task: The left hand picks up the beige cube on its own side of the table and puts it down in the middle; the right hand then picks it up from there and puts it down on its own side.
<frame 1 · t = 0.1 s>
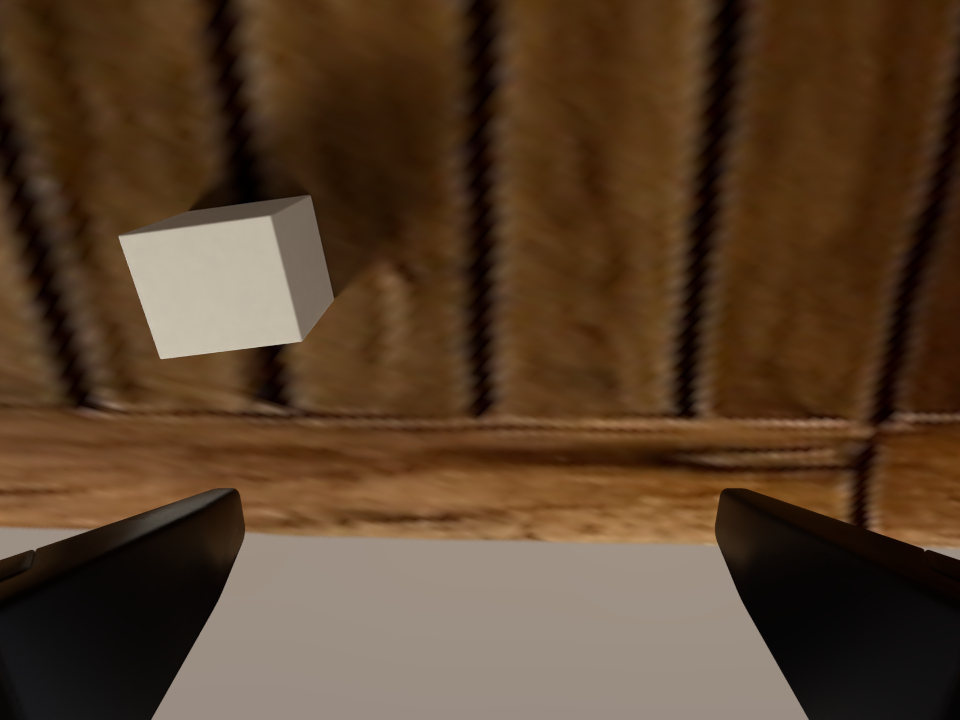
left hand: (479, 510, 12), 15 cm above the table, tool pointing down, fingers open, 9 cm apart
beige cube: (262, 256, 25), on the table
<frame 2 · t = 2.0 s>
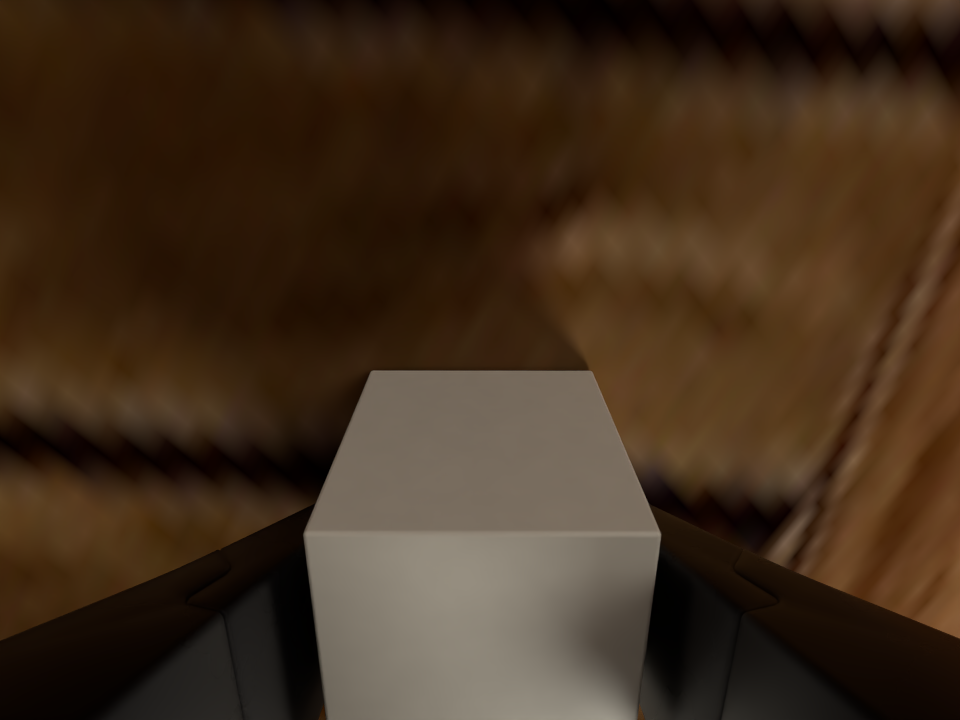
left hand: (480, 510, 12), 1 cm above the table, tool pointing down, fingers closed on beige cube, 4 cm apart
beige cube: (481, 480, 13), on the table, touching left hand
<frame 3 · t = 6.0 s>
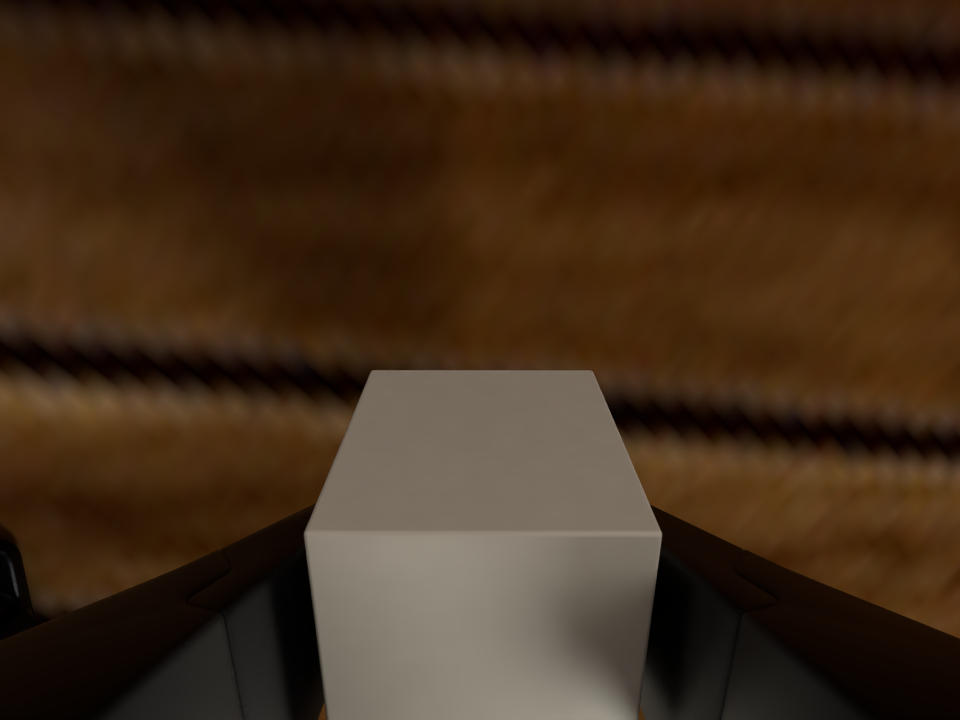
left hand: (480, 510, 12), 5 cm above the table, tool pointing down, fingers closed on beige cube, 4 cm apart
beige cube: (481, 480, 13), point 4 cm above the table, touching left hand
when the left hand's fingers open (2 cm above the table, at t = 9.8 s): beige cube stays where it is, on the table.
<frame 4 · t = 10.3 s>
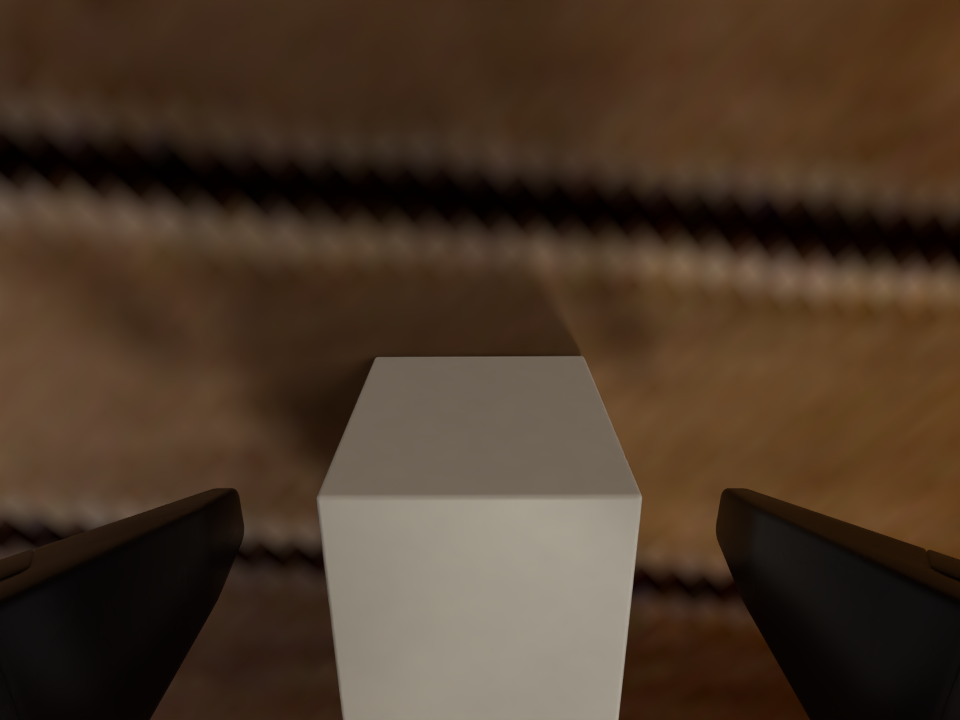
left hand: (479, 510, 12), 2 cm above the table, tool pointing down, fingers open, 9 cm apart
beige cube: (480, 461, 13), on the table
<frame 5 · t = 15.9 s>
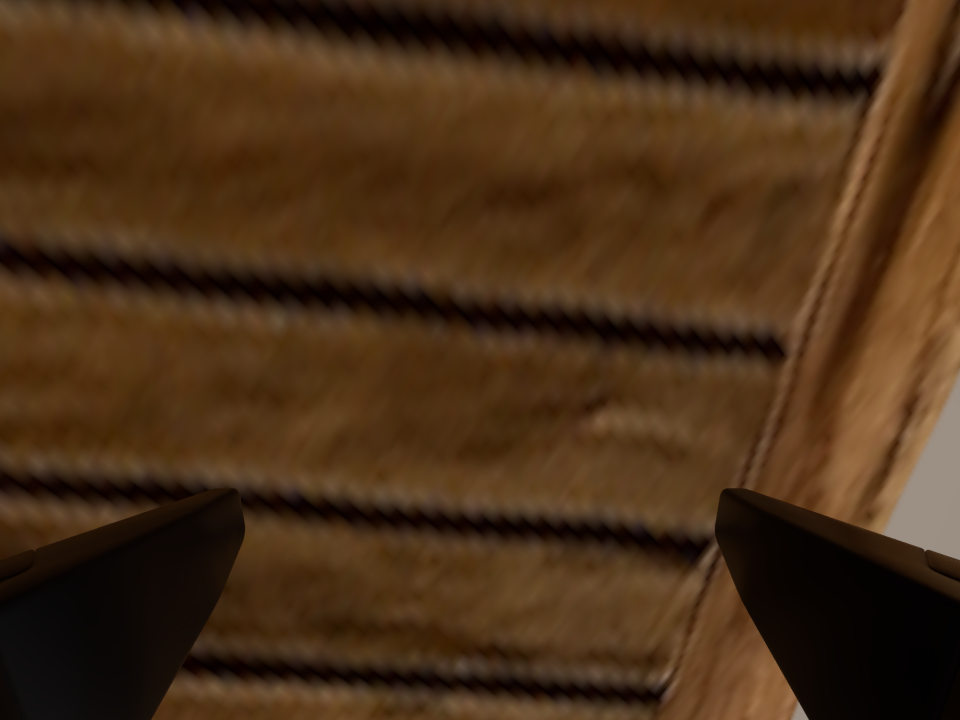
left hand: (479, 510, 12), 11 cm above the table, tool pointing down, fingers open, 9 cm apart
when the right hand's fingers open (2 cm above the table, at t = 23.1 s): beige cube stays where it is, on the table.
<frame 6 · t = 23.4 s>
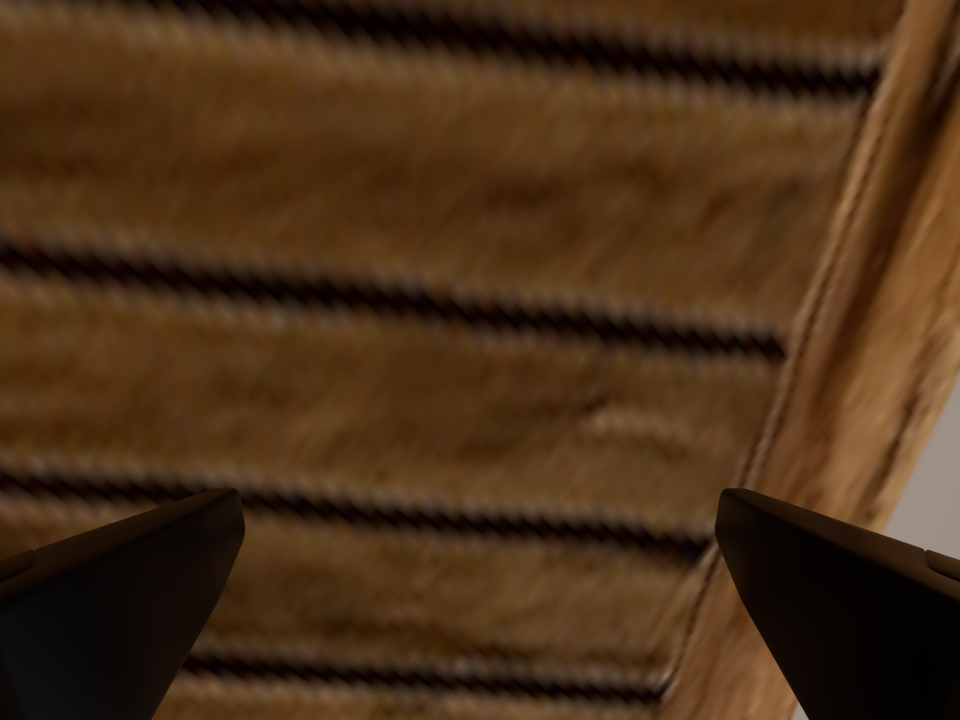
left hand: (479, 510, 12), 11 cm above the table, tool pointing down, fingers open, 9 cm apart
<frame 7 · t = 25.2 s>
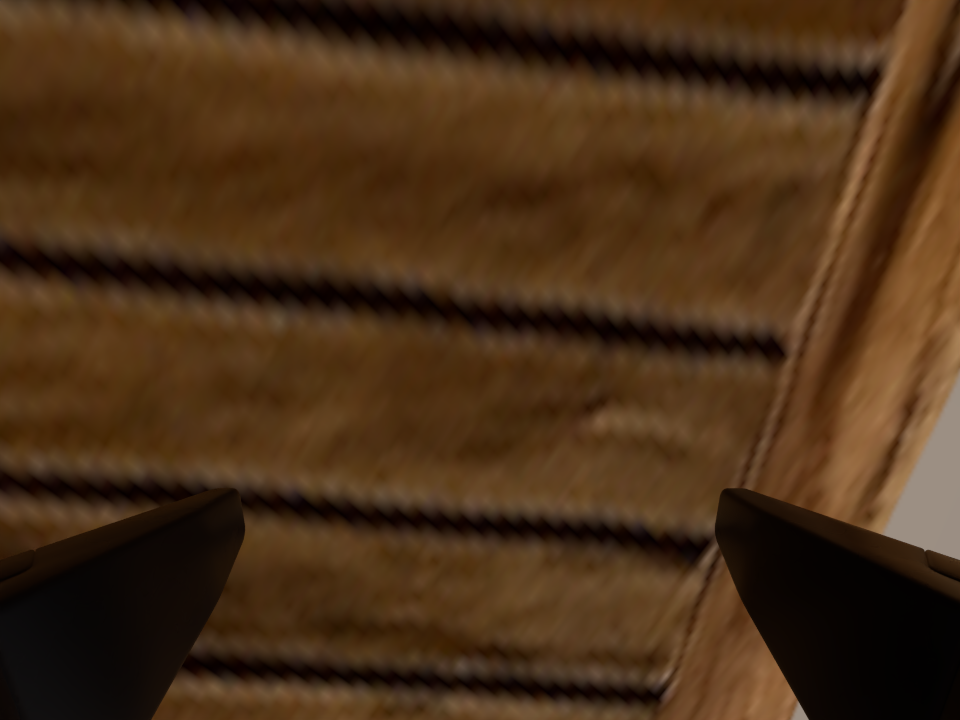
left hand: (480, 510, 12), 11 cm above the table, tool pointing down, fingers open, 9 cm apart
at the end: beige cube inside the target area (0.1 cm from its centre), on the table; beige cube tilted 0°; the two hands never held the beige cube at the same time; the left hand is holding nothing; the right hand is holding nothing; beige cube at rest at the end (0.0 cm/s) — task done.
